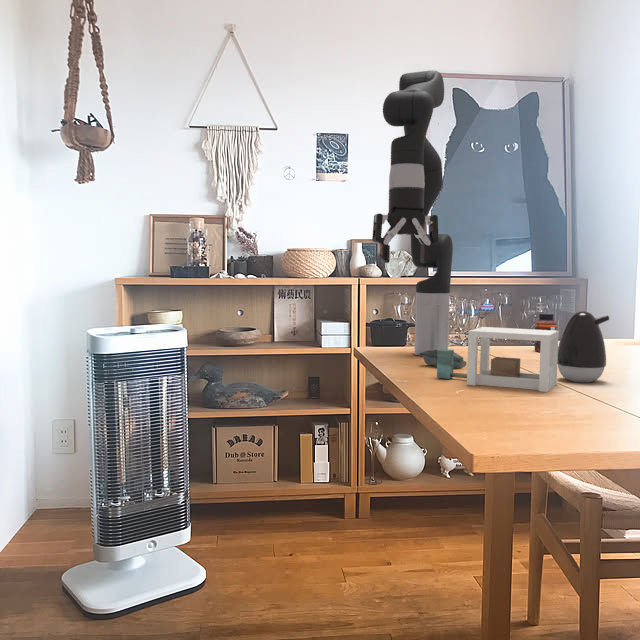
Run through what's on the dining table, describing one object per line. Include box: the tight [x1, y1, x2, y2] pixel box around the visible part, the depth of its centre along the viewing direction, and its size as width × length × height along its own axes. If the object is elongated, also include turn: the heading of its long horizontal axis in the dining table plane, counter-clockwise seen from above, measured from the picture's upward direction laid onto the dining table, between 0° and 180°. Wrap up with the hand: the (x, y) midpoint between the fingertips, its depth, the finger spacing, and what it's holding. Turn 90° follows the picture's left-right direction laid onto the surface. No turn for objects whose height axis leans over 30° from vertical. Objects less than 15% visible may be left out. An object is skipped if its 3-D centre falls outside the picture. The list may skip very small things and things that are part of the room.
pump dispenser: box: [557, 310, 610, 383], centre depth 152 cm, size 10×10×15 cm
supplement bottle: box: [534, 312, 558, 353], centre depth 205 cm, size 6×6×11 cm
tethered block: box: [436, 348, 521, 380], centre depth 149 cm, size 5×17×6 cm, turn 63°
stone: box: [418, 350, 468, 369], centre depth 172 cm, size 11×4×10 cm
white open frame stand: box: [466, 326, 560, 393], centre depth 146 cm, size 12×16×11 cm
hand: (404, 262), depth 152 cm, fingers open, 8 cm apart
